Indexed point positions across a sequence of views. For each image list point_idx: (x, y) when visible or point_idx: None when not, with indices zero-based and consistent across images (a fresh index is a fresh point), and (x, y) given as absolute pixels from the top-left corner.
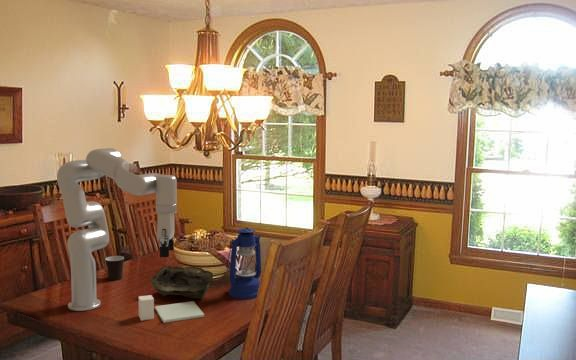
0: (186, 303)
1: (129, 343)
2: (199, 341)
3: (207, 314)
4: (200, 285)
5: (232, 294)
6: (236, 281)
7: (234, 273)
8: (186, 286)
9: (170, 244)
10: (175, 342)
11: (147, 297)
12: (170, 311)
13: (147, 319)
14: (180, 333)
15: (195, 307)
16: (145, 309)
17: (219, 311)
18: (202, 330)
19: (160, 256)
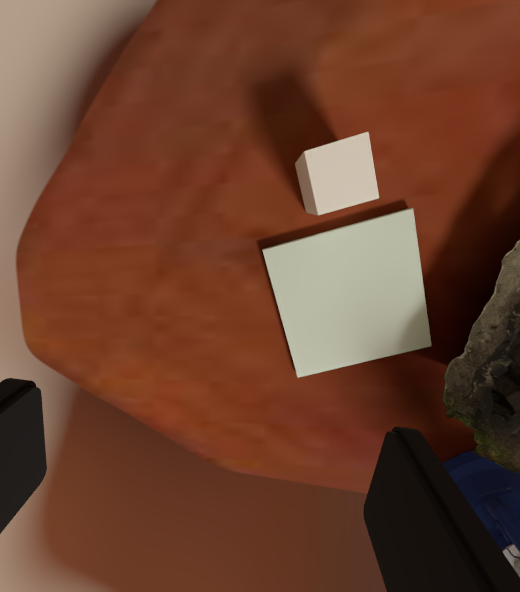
0: (414, 323)
1: (93, 144)
2: (113, 357)
3: (315, 382)
4: (475, 400)
5: (460, 463)
6: (492, 515)
7: (514, 544)
8: (499, 343)
9: (407, 579)
10: (104, 292)
11: (345, 181)
12: (344, 270)
13: (300, 188)
14: (170, 305)
15: (366, 352)
16: (303, 178)
17: (334, 415)
18: (190, 366)
19: (6, 385)
